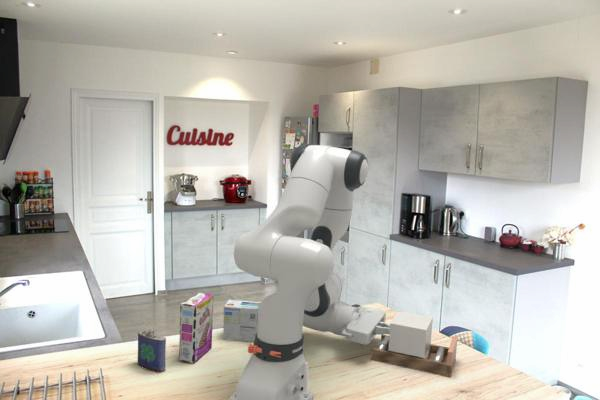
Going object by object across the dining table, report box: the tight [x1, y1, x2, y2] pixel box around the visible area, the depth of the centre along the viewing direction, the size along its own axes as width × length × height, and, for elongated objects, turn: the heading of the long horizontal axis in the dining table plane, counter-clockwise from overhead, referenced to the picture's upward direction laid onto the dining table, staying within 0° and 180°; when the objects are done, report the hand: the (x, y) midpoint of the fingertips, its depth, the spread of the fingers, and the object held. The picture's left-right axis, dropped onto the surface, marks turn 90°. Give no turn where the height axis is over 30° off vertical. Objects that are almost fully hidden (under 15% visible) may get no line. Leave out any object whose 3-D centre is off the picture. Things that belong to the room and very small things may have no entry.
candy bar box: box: [178, 292, 214, 365], centre depth 140 cm, size 11×5×16 cm, turn 164°
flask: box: [137, 328, 167, 373], centre depth 132 cm, size 9×3×11 cm, turn 61°
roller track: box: [370, 334, 459, 378], centre depth 144 cm, size 22×12×7 cm, turn 66°
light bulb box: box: [222, 299, 261, 343], centre depth 154 cm, size 11×7×11 cm, turn 84°
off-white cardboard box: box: [388, 310, 434, 358], centre depth 143 cm, size 10×11×8 cm
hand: (393, 330), depth 146 cm, fingers closed, pressing on off-white cardboard box
